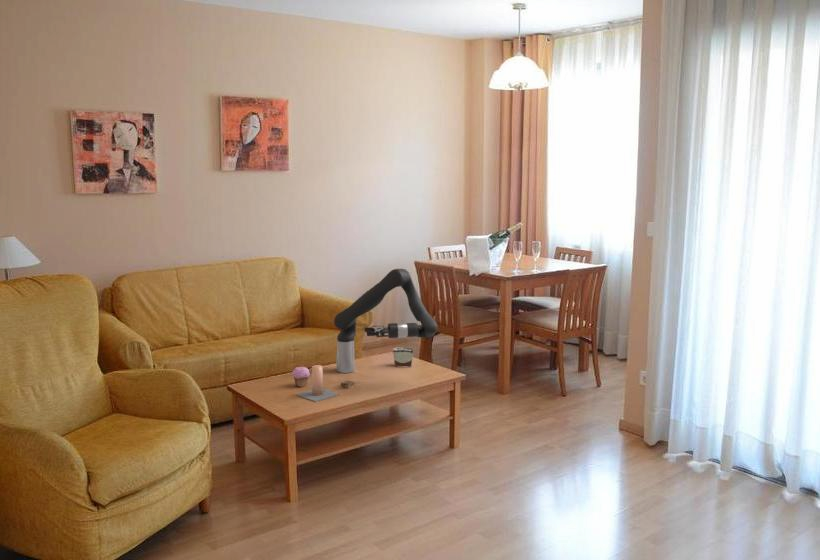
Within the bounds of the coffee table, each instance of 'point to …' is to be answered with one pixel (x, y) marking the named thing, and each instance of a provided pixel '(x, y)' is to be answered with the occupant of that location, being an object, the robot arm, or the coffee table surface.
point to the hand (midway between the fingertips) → (365, 331)
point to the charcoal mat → (317, 398)
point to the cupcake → (301, 376)
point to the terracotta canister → (317, 380)
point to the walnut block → (347, 383)
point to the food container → (403, 356)
